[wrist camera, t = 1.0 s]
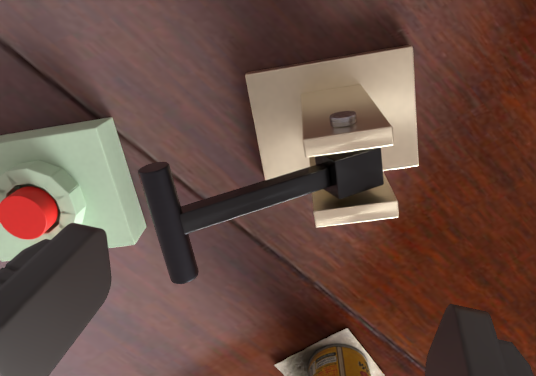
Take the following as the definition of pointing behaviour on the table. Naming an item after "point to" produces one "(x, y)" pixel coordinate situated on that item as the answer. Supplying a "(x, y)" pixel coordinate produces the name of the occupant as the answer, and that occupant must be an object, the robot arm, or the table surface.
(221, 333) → the table surface
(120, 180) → the stop block
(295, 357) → the condiment
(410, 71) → the bracket
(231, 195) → the lever
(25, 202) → the stop button
